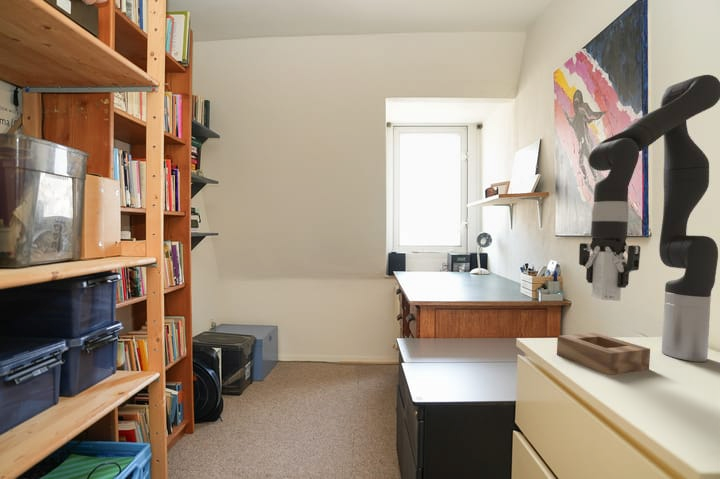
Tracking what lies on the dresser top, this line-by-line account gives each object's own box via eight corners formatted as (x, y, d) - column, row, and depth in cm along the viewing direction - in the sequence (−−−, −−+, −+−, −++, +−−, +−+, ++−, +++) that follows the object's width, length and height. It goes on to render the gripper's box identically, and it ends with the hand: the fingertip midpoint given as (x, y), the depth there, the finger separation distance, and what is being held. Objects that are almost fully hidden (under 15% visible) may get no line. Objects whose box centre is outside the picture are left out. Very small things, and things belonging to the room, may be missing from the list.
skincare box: (621, 301, 86) (623, 252, 86) (601, 300, 87) (604, 251, 87) (608, 296, 92) (611, 251, 92) (590, 295, 93) (593, 250, 93)
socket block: (594, 350, 99) (594, 332, 99) (649, 369, 86) (650, 348, 86) (556, 354, 95) (557, 335, 94) (609, 374, 81) (610, 353, 81)
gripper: (650, 220, 84) (646, 289, 84) (592, 221, 97) (589, 280, 98) (629, 219, 81) (625, 290, 82) (572, 220, 95) (569, 281, 95)
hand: (605, 284), depth 90 cm, fingers closed on skincare box, 7 cm apart
